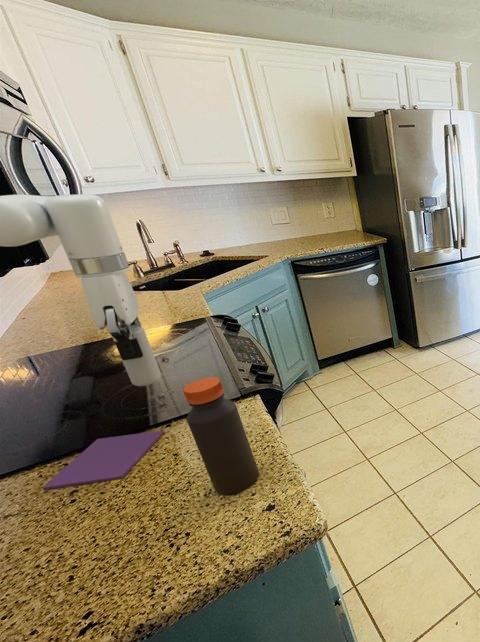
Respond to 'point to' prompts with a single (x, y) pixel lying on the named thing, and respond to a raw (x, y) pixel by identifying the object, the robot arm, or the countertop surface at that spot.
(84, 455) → the cloth
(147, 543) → the countertop surface
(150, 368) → the beverage can
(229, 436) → the bottle
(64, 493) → the countertop surface
